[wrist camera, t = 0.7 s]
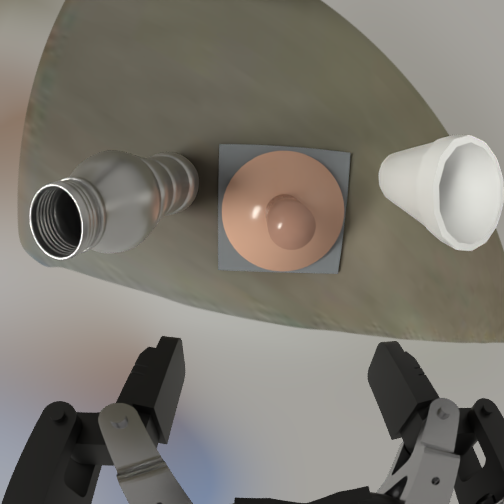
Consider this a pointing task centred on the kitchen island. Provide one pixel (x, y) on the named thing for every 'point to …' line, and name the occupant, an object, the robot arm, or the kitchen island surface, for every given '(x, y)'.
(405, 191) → the foam cup
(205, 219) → the kitchen island surface
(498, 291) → the kitchen island surface
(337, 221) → the lid
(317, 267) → the mat
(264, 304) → the kitchen island surface
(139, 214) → the plastic bottle
